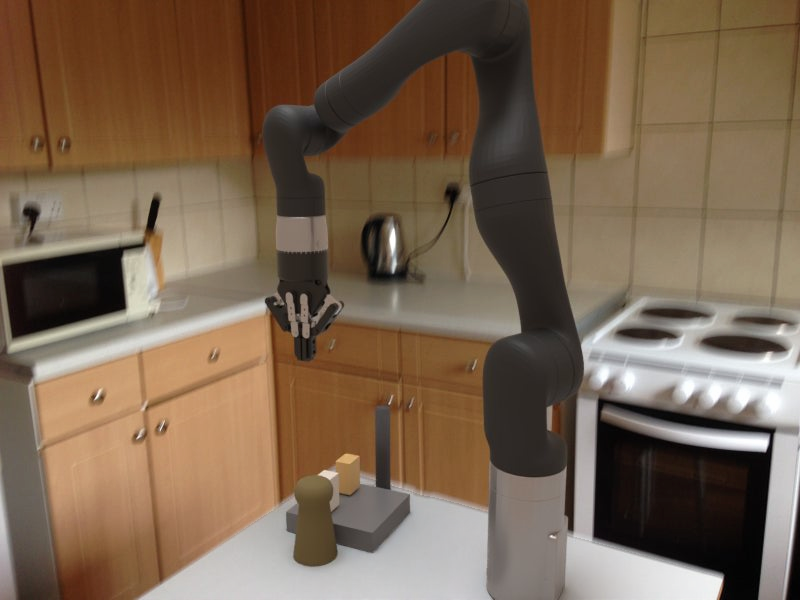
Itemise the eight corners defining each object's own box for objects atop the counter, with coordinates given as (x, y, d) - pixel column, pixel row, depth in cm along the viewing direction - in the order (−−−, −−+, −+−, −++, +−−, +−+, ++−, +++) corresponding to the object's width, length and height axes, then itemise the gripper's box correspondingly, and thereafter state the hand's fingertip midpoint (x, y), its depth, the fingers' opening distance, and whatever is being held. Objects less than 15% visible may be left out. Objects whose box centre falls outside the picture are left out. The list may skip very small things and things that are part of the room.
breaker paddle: (360, 486, 113) (359, 456, 112) (350, 495, 110) (349, 464, 109) (346, 483, 114) (345, 453, 113) (336, 492, 111) (335, 461, 110)
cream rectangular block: (339, 504, 107) (338, 472, 106) (328, 514, 104) (327, 481, 103) (325, 501, 108) (324, 469, 107) (313, 511, 105) (312, 478, 104)
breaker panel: (409, 512, 111) (409, 494, 111) (372, 552, 100) (372, 532, 100) (330, 494, 117) (329, 477, 116) (286, 530, 106) (285, 511, 105)
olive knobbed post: (341, 543, 103) (339, 470, 100) (333, 567, 97) (331, 490, 94) (299, 541, 103) (296, 468, 101) (288, 565, 97) (285, 488, 95)
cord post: (393, 488, 119) (392, 406, 116) (386, 494, 117) (386, 411, 114) (379, 485, 120) (379, 404, 117) (373, 491, 118) (372, 409, 115)
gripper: (354, 245, 107) (356, 359, 111) (278, 241, 113) (282, 349, 117) (328, 252, 101) (331, 372, 104) (249, 246, 106) (254, 361, 110)
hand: (305, 359), depth 110 cm, fingers closed
